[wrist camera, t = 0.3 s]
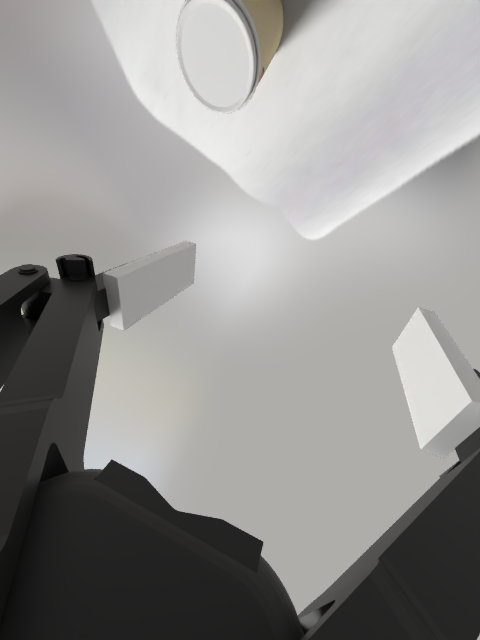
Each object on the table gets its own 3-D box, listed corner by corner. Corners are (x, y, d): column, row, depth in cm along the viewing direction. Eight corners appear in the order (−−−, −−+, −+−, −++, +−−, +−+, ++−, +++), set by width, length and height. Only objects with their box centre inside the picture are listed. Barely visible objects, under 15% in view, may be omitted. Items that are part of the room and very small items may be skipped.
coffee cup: (233, 81, 36) (198, 123, 31) (207, -23, 28) (155, 11, 24) (295, 62, 32) (266, 107, 27) (284, -66, 24) (240, -36, 19)
